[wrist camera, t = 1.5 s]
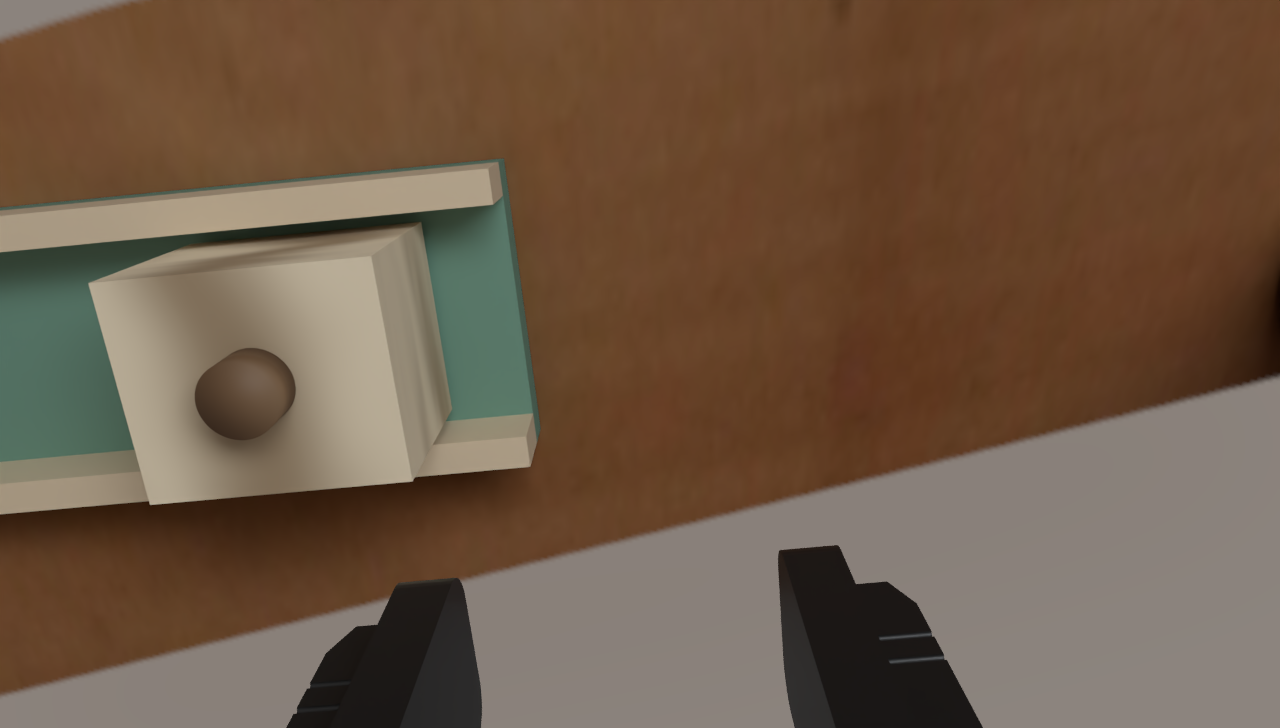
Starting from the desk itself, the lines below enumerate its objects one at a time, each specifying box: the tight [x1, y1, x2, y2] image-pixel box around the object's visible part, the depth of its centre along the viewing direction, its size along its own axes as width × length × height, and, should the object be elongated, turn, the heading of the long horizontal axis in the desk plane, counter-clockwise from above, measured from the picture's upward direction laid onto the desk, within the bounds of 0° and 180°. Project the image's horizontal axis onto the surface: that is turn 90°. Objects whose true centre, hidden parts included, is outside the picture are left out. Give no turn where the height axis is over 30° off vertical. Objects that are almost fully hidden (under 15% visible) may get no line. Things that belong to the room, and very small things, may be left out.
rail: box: [0, 159, 541, 514], centre depth 27 cm, size 24×9×6 cm, turn 95°
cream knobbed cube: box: [88, 222, 452, 505], centre depth 25 cm, size 7×6×7 cm
